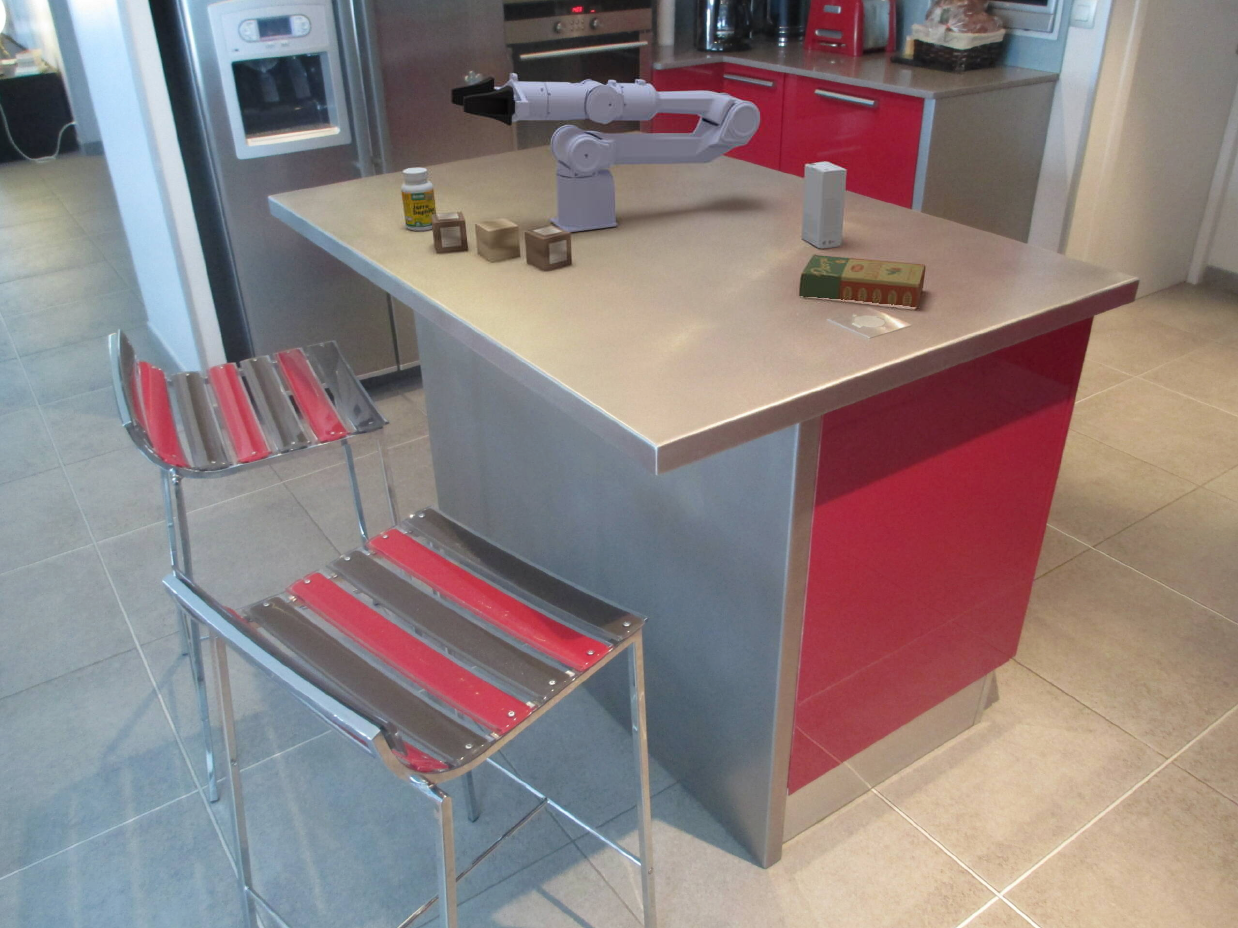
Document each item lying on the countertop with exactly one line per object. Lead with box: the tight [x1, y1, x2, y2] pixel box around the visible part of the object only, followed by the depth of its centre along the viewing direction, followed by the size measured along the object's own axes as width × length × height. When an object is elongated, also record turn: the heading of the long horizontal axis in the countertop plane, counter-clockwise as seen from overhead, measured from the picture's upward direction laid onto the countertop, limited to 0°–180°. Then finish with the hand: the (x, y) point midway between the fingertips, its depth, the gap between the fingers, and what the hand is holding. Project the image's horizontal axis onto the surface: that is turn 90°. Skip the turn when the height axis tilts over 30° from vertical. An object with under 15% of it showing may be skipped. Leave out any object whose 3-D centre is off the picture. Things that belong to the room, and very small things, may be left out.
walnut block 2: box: [524, 224, 573, 272], centre depth 149 cm, size 5×5×5 cm
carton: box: [798, 254, 926, 307], centre depth 137 cm, size 8×16×4 cm, turn 69°
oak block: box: [474, 217, 521, 264], centre depth 153 cm, size 5×5×5 cm
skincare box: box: [801, 161, 848, 250], centre depth 155 cm, size 6×4×12 cm
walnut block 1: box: [431, 211, 469, 254], centre depth 157 cm, size 5×5×5 cm
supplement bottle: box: [400, 167, 437, 232], centre depth 166 cm, size 5×5×10 cm
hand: (457, 100), depth 151 cm, fingers open, 7 cm apart
